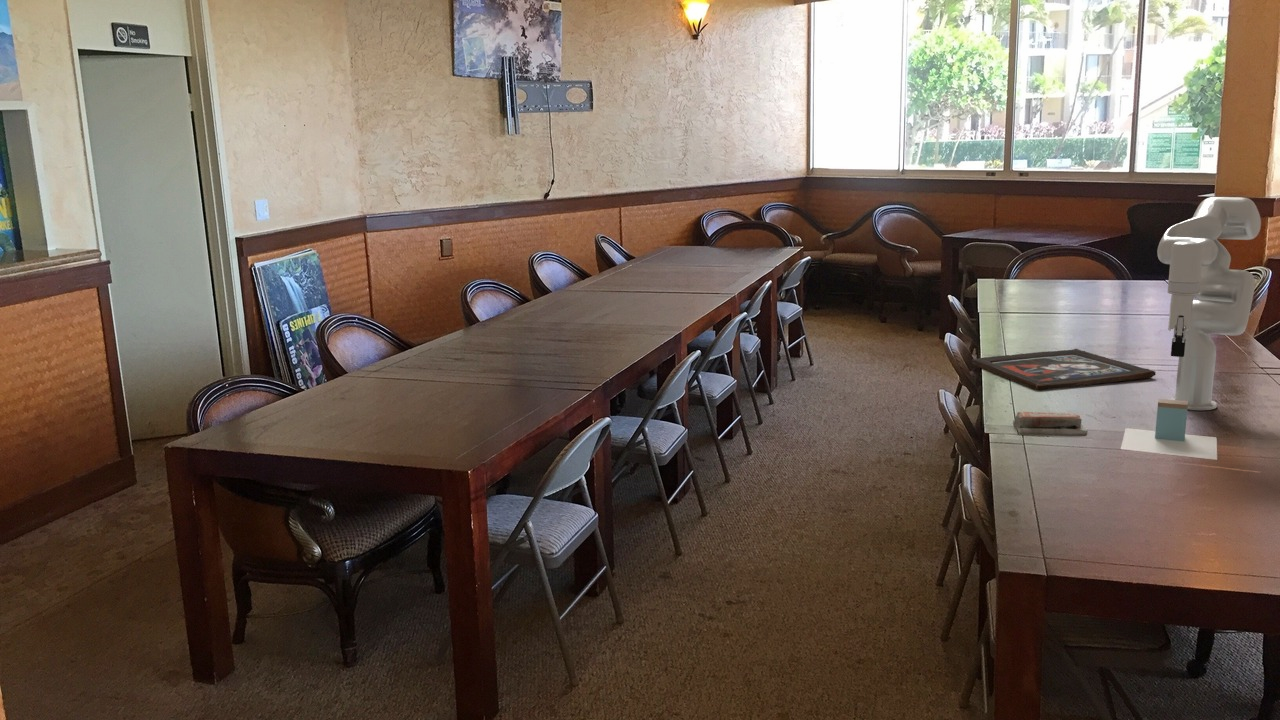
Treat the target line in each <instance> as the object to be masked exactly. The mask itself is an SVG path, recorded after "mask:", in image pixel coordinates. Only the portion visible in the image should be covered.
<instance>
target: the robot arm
mask: <svg viewBox="0 0 1280 720" xmlns="http://www.w3.org/2000/svg"><path fill="white" fill-rule="evenodd" d="M1261 226H1262V219H1261V215H1260V212H1259V209H1258V208H1257V205H1256V204H1255V201H1253V200H1252V199H1250V198H1249V197H1244V196H1243V197H1240V196H1237V197H1236V196H1235V197H1234V196H1230V197H1229V196H1211V197H1207V198H1205V199H1204V200H1202V201H1201V202H1200V203H1199V205H1198V206H1197V208H1196V209H1195V212H1194V214H1193V216H1192V217H1191V218H1189V219H1187V220H1184V221H1181V222H1179V223H1176V224H1173V225H1172V226H1170V227H1169V228H1167V230H1165V232H1164V233H1163V235H1162V237H1161V239H1160V241H1159V243H1158V246H1157V254H1156V255H1157V258H1158V260H1159V261H1160V262H1161V263H1162V264H1165V265H1169V272H1168V274H1169V275H1168V282H1167V294H1169V295H1171V297H1170V304H1169V313H1168V315H1169V316H1168V328H1167V329H1168V331H1172V330H1173V338H1172V341H1171V351H1170V357H1176V358H1177V357H1178V360H1177V361H1178V362H1177V371H1176V383H1175V393H1174V396H1172V397H1169V398H1168V400H1179V401H1188V409H1187V411H1188V410H1190V411H1210V410H1211V411H1212V410H1214V409H1216V408H1217V406H1218V403H1217V402H1216V401H1215V400H1212V399H1213V398H1212V396H1213V387H1214V376H1215V366H1216V360H1217V359H1216V357H1217V347H1216V344H1215V342H1214V340H1213V339H1212V338H1211V336H1210V335H1213V334H1214V335H1223V336H1240V335H1242V334H1244V333H1245V331H1246V328H1247V326H1248V322H1249V319H1250V312H1251V309H1252V303H1253V299H1254V294H1255V288H1256V287H1255V286H1256V285H1255V283H1256V281H1255V277H1254V275H1253V274H1252V273H1251V272H1249V271H1248V270H1242V269H1230V266H1231V262H1232V257H1231V255H1230V252H1229V251H1228V249H1227V248H1226V247H1225V246H1224V245H1223V244H1222V243H1221V242H1220V240H1237V241H1238V240H1240V241H1241V240H1242V241H1250V240H1253V239H1255V238H1256V237H1258V235H1259V234H1260V231H1261ZM1218 239H1219V240H1218ZM1194 298H1196V299H1194ZM1209 334H1210V335H1209Z"/></svg>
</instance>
